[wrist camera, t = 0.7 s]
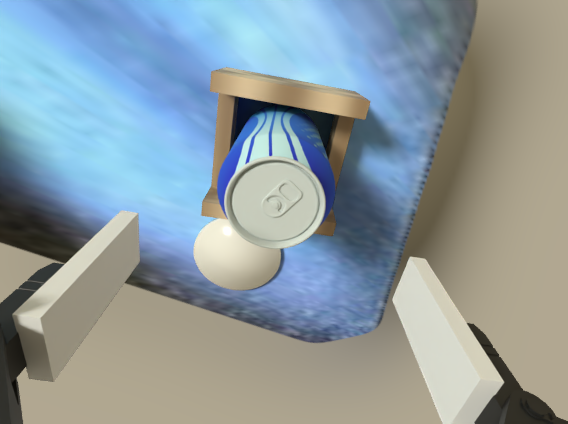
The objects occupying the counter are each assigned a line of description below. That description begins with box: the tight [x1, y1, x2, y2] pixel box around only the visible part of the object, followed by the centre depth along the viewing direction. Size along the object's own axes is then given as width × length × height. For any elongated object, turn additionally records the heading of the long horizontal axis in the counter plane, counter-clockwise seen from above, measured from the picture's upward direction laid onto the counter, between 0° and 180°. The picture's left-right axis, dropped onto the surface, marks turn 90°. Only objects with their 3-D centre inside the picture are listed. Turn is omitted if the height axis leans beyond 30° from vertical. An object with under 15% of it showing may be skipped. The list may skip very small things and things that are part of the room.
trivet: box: [194, 218, 281, 290], centre depth 42 cm, size 11×11×1 cm
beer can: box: [217, 105, 335, 249], centre depth 28 cm, size 8×8×16 cm
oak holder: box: [201, 67, 370, 236], centre depth 32 cm, size 13×13×7 cm
